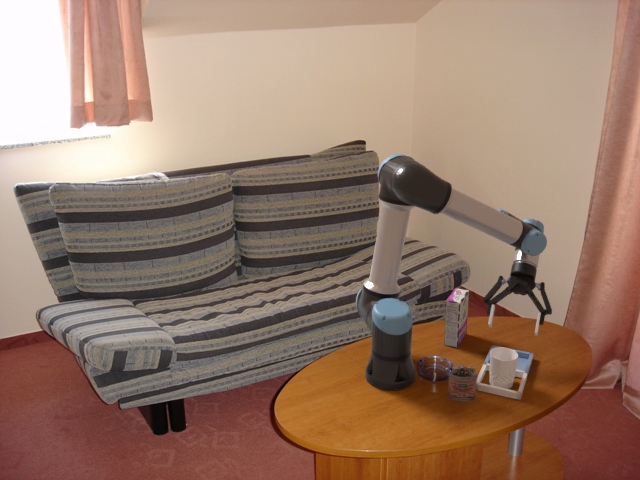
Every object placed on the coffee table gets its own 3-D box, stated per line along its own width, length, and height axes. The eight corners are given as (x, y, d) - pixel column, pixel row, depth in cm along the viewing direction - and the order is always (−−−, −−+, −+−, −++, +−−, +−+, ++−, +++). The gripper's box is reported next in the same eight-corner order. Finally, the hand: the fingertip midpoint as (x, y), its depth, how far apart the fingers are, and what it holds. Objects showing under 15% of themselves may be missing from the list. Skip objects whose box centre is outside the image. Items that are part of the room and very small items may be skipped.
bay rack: (474, 389, 188) (474, 383, 187) (491, 350, 209) (491, 345, 208) (520, 400, 182) (521, 393, 182) (532, 358, 204) (533, 353, 203)
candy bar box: (452, 331, 222) (455, 287, 216) (466, 334, 220) (470, 290, 214) (442, 345, 213) (445, 300, 207) (457, 348, 210) (460, 303, 205)
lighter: (447, 399, 183) (449, 368, 180) (446, 393, 186) (448, 362, 183) (476, 401, 182) (478, 370, 179) (475, 395, 185) (477, 364, 182)
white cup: (485, 376, 194) (487, 346, 191) (511, 376, 194) (514, 347, 191) (490, 390, 187) (493, 360, 184) (517, 391, 187) (521, 360, 183)
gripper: (566, 277, 200) (556, 341, 192) (485, 265, 210) (472, 326, 202) (567, 267, 193) (556, 333, 186) (483, 255, 203) (469, 318, 196)
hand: (512, 330), depth 194 cm, fingers open, 13 cm apart
